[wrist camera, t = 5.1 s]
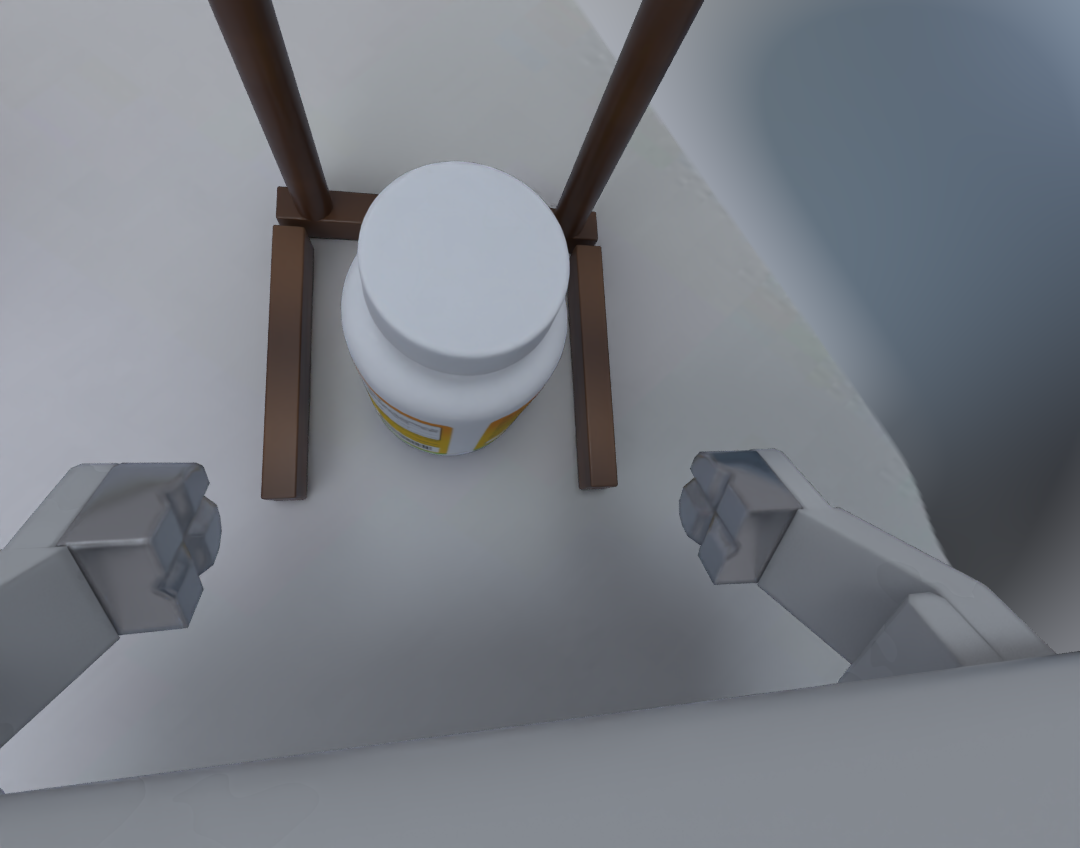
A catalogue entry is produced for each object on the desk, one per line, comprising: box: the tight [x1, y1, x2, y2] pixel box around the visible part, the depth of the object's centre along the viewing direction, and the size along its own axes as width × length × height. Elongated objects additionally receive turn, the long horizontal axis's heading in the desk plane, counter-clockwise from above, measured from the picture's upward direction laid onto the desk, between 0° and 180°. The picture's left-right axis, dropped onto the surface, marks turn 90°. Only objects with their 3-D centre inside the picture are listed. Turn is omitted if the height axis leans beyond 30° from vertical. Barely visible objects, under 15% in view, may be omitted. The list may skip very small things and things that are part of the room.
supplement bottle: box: [341, 161, 570, 455], centre depth 14 cm, size 5×5×10 cm
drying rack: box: [208, 0, 704, 501], centre depth 13 cm, size 11×11×14 cm
